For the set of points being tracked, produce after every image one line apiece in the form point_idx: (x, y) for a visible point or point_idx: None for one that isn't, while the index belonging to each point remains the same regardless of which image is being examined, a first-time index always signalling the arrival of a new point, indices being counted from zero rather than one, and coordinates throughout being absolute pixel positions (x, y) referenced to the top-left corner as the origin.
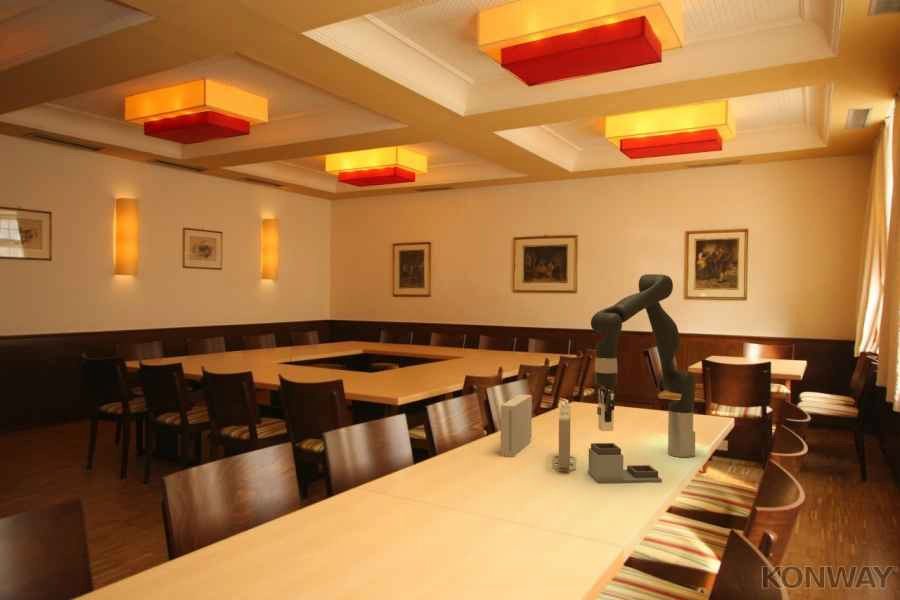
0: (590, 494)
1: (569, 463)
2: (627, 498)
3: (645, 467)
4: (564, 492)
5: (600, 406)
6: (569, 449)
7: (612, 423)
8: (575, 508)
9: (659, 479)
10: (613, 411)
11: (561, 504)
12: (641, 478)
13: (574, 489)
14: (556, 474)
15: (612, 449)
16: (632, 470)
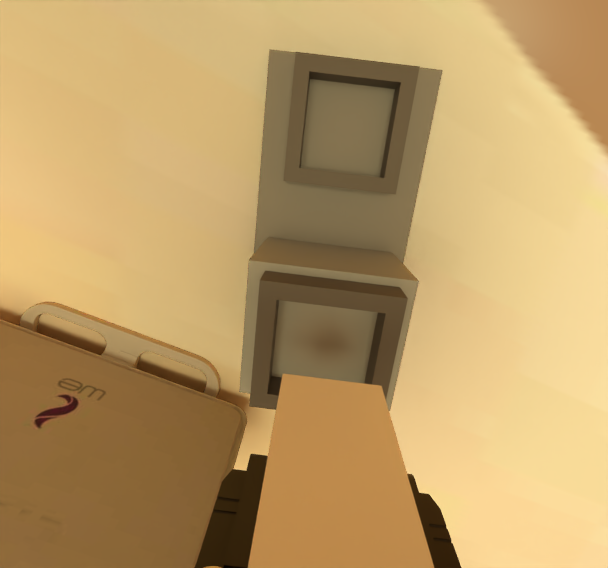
0: (485, 417)
1: (236, 418)
2: (568, 321)
3: (307, 85)
4: (441, 478)
5: None
6: (225, 465)
7: (392, 437)
8: (584, 499)
9: (439, 84)
10: (427, 552)
11: (538, 519)
12: (403, 167)
13: (422, 442)
14: (252, 438)
15: (397, 346)
16: (358, 189)
